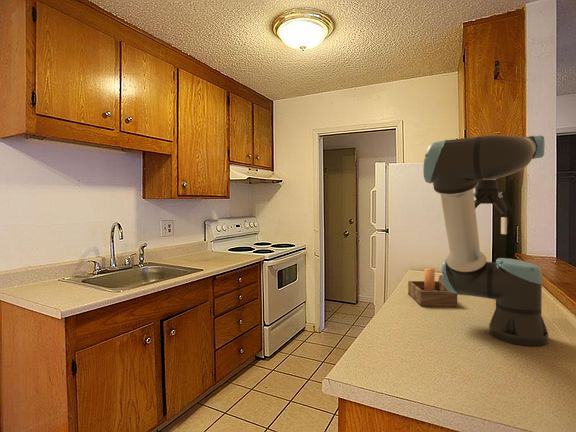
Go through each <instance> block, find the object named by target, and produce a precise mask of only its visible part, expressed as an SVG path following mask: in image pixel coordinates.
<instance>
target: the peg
mask: <svg viewBox="0 0 576 432" xmlns="http://www.w3.org/2000/svg"><path fill="white" fill-rule="evenodd" d="M423 272H424V279H423V281H424V291H435V281H436V280H435V268H433V267H425V268H424V271H423Z"/></svg>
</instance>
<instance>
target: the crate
mask: <svg viewBox="0 0 576 432" xmlns="http://www.w3.org/2000/svg"><path fill="white" fill-rule="evenodd" d="M407 283H408V284H407V286H408V287H407V288H408V289H407V295H408V296H409V297H410V298H412V300H414V302H416V303H417V304H418V306H420V307H421V308H422V307H426V308H427V307H429V308H431V307H433V308H435V307H437V308H440V307H442V308H448V307H449V308H457V307H458V294H456V293H452V292H449V291H448V290H447V289H446V288H445V286H444V283H442V282H441V281H438V280H437V281H436V280H435V291H424V280H408V282H407Z"/></svg>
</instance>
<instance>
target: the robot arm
mask: <svg viewBox="0 0 576 432" xmlns="http://www.w3.org/2000/svg"><path fill="white" fill-rule="evenodd" d="M545 143H546V142H545V137H544V136H543V135H528V136H519V135H501V134H488V135H482V136H481V135H479V136H471V137H464V138H454V139H445V140H441V141H440V140H439V141H436V142H435V141H434V142H433V143H431V144H430V145H429V146H428V147H427V149H426V152H425V154H424V160H423V167H422V168H423V169H422V170H423V172H422V173H423V179H424V181H425V183H428V184H432V185H433V190H434V192H436V193H437V194H439V195H440V198H441V199H440V200H441V205H442V206H441V207H442V212H443V218H444V225H445V229H446V236H447V241H448V249H449V253H448V254H447V256H446V258H445V259H444V260H443V262H442V265H441V273H442V279H443V283H444V286H445V288H446V289H447V290H448V291H449V292H452V293H456V294H457V295H460V296H470V297H475V298H476V297H477V298H483V299H489V300H490V299H491V300H495V310H494V311H493V314H492V317H491V319H490V321H489V323H488V324H489V325H488V332H489V334H490V335H491V336H493V337H494V338H496V339H498V340H501V341H503V342H507V343H511V344H515V345H517V346H518V345H520V346H525V347H526V346H527V347H541V346H546V345H548V344H549V338H550V337H549V332H548V329H547V326H546V323H545V321H544V318H543V314H542V309H543V308H542V305H543V302H542V301H543V298H542V297H543V295H542V294H543V293H542V288H543V283H544V281H543V276H542V275H543V272H542V269H541V268H540V267H539V266H538V265H536V264H534V263H531V262H528V261H524V260H520V259H514V258H507V257H498V258H496V260H495V262H494V261H488V260H487V256H486V255H485V253H484V252H482V251H481V249H480V248H481V247H480V239H479V238H480V237H479V229H478V222H477V214H476V209H477V207H478V206H479V205H481V204H483V205H485V204H487V205H488V204H491V205H493V206H494V208H496V210H497V211H498V212H499V213H500V214H501V216H502V217H500V234H501V235H507V234H508V226H509V225H510V218H511V217H513V216H515V214H516V213H515V212H514V209H513V207H512V205H511V204H510V201H509V198H507V192H506V191H501V192H500V191H499V192H498V186H499V185H498V180H497V179H500V178H504V177H507V176H511V175H513V174H515V173H517V172H520V171H522V170H524V169H525V168H526V167H527V166H529V164H530V163H531V161H532V160H534V159H539V158H540V159H541V158H543V157H544V156H545V146H546V145H545ZM474 189H475V191H474ZM497 198H499V199H500V200H498V199H497ZM500 202H501V203H502V204H500Z"/></svg>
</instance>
